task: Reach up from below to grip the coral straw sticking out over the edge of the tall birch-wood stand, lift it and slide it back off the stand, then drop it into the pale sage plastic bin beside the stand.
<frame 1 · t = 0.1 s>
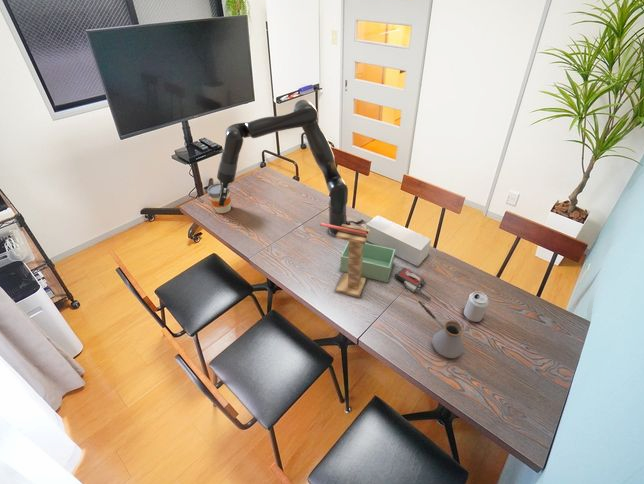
hand: (221, 200, 153), 31 cm above the table, tool tilted 20°, fingers open, 8 cm apart
stand: (351, 285, 152), on the table
walkie-talkie: (414, 285, 152), on the table
straw: (342, 228, 134), point 33 cm above the table, touching stand
stack of papers: (395, 247, 174), on the table
reusable coffee cup: (223, 209, 202), on the table
can: (472, 315, 139), on the table
bin: (367, 267, 162), on the table
coffee pot: (435, 340, 130), on the table
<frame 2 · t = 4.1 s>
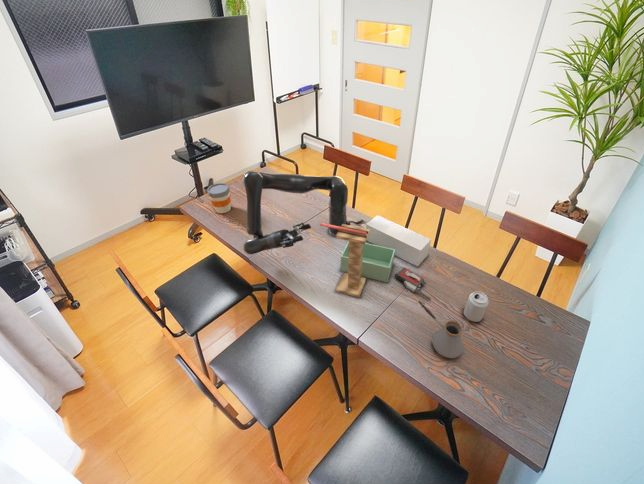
hand: (306, 231, 142), 27 cm above the table, tool pointing upward, fingers open, 8 cm apart
nothing on the table moved.
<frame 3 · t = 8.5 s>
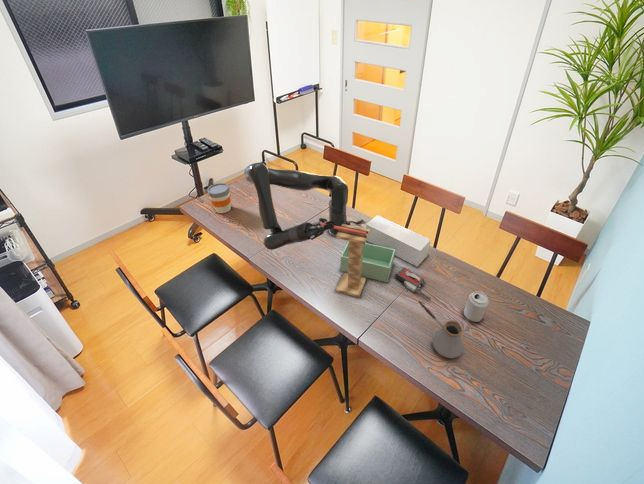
hand: (333, 223, 134), 34 cm above the table, tool pointing upward, fingers closed on straw, 1 cm apart
straw: (342, 228, 134), point 33 cm above the table, touching gripper, stand
everything else where it was.
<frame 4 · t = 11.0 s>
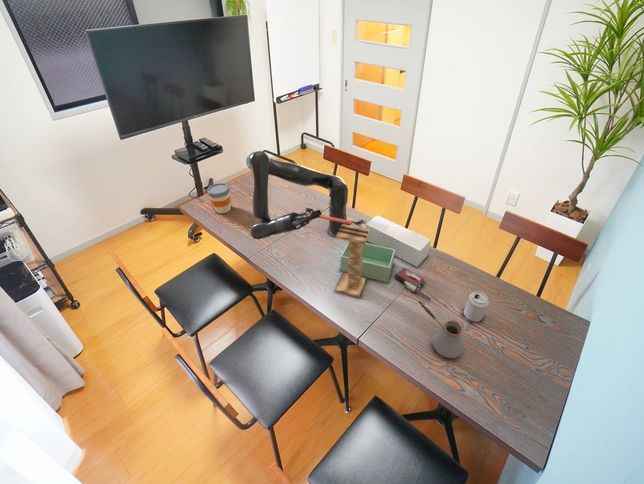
hand: (319, 213, 133), 38 cm above the table, tool pointing upward, fingers closed on straw, 1 cm apart
straw: (328, 218, 133), point 37 cm above the table, touching gripper
everything else where it was.
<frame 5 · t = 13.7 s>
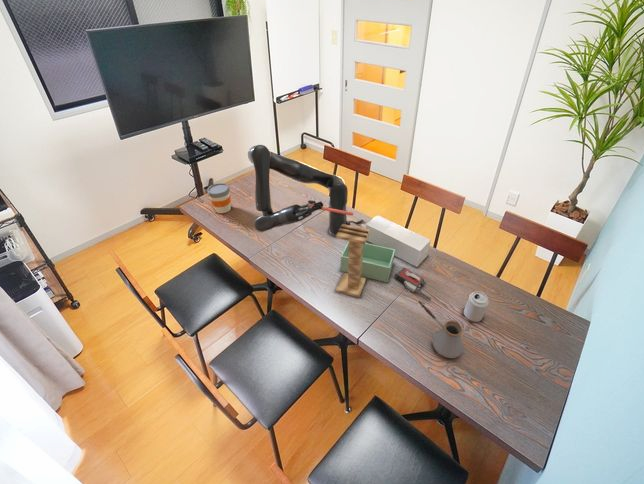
hand: (321, 204, 136), 39 cm above the table, tool pointing upward, fingers closed on straw, 1 cm apart
straw: (330, 209, 136), point 38 cm above the table, touching gripper
everything else where it was.
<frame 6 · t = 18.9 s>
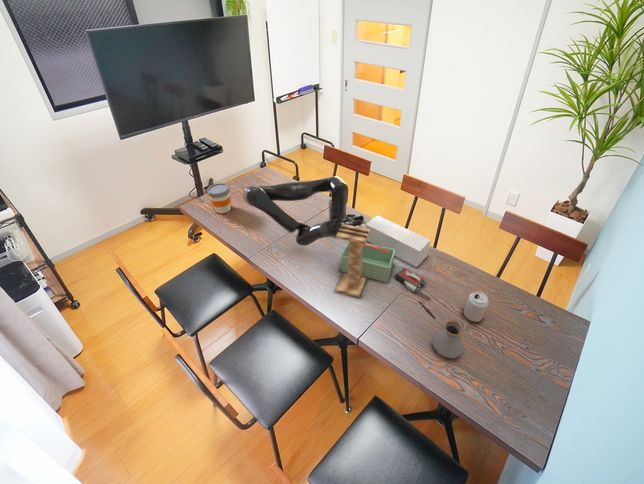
hand: (362, 219, 146), 28 cm above the table, tool pointing upward, fingers open, 3 cm apart
straw: (368, 245, 153), point 14 cm above the table, tilted 13°
everything else where it was.
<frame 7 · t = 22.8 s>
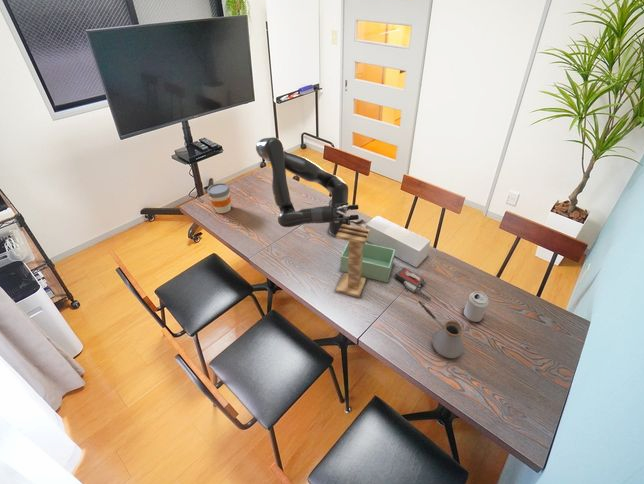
hand: (358, 211, 146), 31 cm above the table, tool horizontal, fingers open, 8 cm apart
straw: (366, 266, 160), point 1 cm above the table, tilted 68°, touching bin
everything else where it was.
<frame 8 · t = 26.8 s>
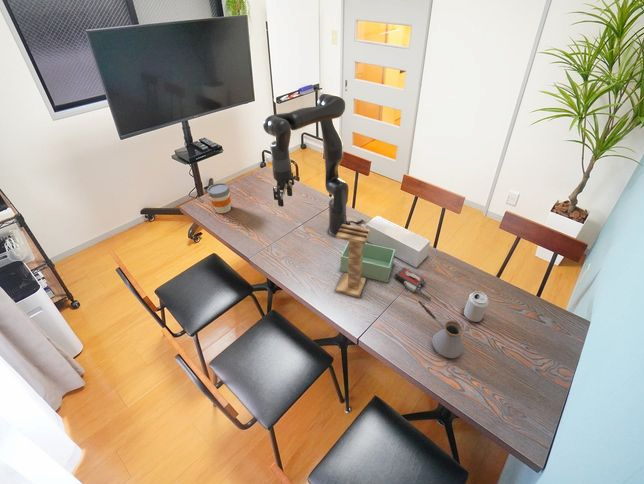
hand: (285, 200, 141), 38 cm above the table, tool pointing down, fingers open, 8 cm apart
straw: (366, 267, 160), point 1 cm above the table, tilted 123°, touching bin
everything else where it was.
at the end: straw 1.4 cm from the bin (horizontally); straw point 1.2 cm above the table; the gripper is holding nothing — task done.
